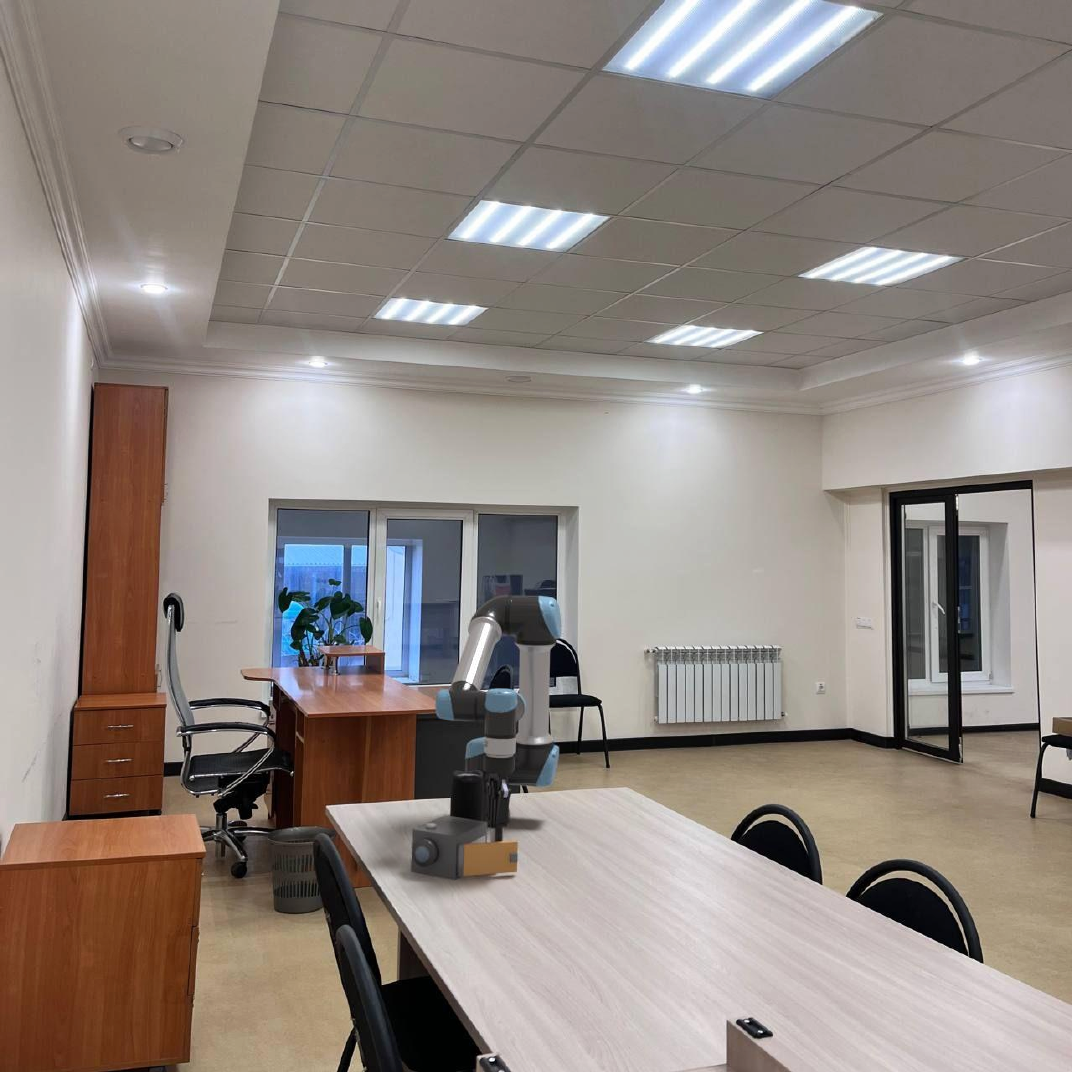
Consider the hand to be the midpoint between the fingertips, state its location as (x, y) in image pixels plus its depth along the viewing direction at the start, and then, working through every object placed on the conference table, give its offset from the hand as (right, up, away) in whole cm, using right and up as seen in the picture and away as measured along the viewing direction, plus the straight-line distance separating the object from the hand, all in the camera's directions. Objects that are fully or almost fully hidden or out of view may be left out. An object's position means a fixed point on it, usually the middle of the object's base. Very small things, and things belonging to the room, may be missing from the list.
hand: (496, 854), depth 230 cm
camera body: (-12, -4, +1) cm, 13 cm away
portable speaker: (-9, -5, +18) cm, 20 cm away
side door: (-2, -3, -4) cm, 6 cm away
